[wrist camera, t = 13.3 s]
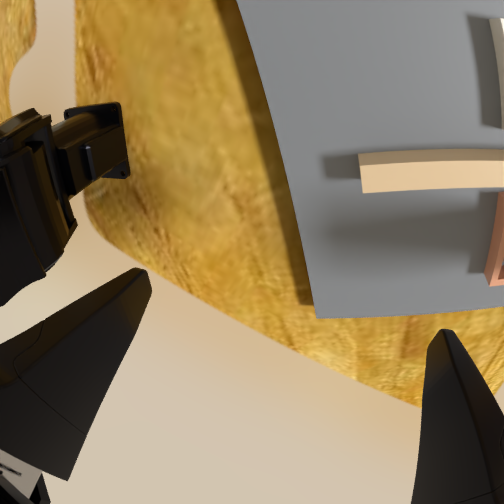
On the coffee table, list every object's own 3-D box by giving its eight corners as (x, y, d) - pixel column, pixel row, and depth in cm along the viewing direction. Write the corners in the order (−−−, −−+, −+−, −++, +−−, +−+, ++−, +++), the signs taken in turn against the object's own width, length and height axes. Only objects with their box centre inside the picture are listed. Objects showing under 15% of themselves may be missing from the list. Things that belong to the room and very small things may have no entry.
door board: (318, 305, 26) (313, 336, 24) (236, -20, 12) (214, -32, 9) (527, 291, 18) (538, 318, 16) (539, -15, 4) (567, -18, 2)
